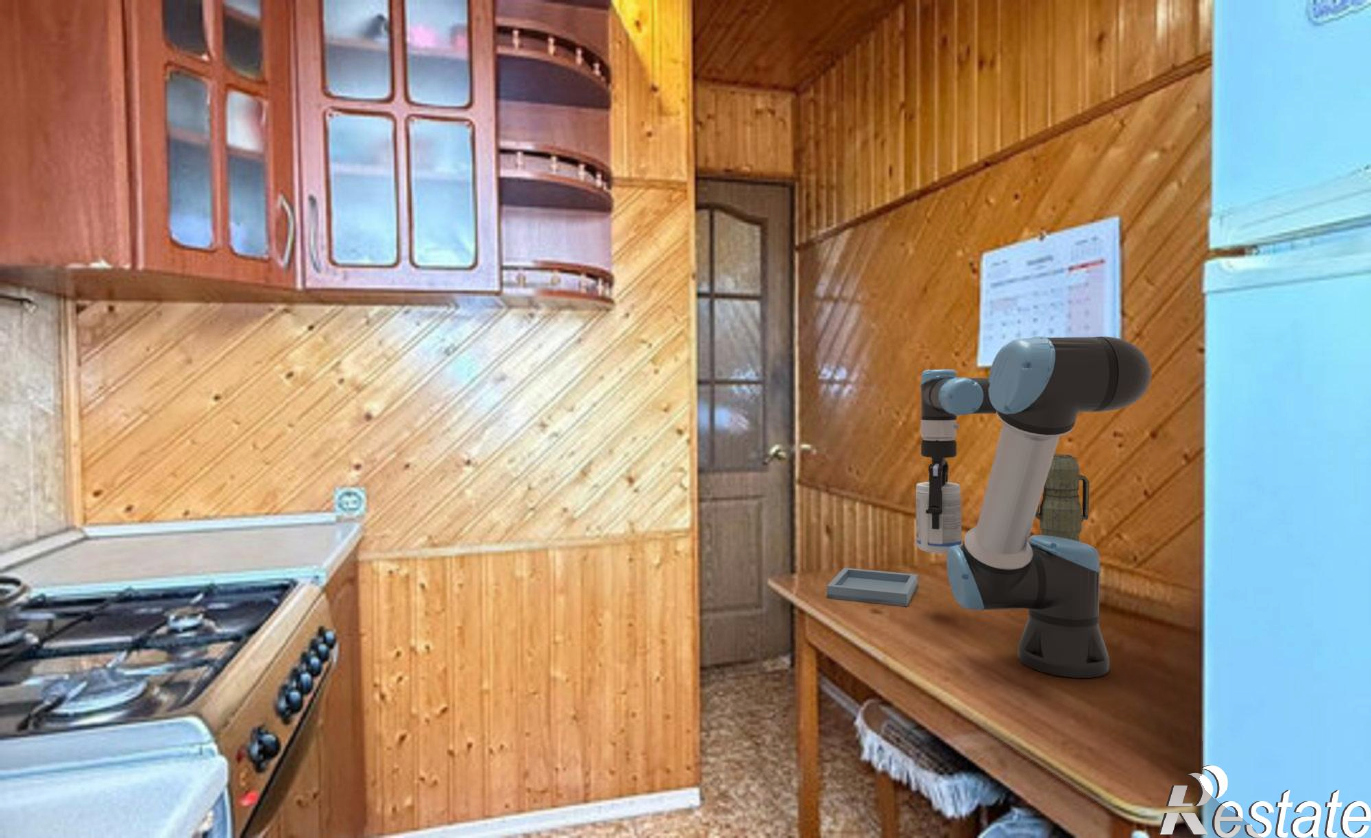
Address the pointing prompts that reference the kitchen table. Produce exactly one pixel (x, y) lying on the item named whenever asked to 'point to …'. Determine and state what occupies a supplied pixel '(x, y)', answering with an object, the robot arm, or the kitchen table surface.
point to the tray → (873, 586)
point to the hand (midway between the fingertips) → (938, 538)
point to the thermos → (1063, 500)
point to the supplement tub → (950, 517)
